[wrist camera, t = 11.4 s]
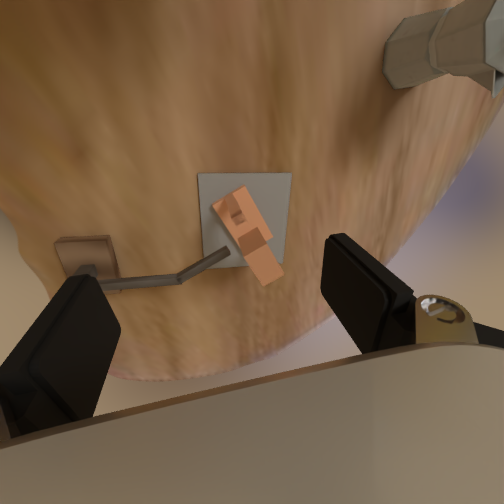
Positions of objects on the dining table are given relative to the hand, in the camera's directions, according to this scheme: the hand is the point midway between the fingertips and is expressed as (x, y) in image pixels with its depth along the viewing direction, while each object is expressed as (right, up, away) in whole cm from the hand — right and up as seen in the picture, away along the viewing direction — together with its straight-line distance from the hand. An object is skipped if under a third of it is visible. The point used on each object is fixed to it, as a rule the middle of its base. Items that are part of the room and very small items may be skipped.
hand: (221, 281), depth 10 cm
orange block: (0, +7, +31) cm, 32 cm away
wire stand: (-16, 0, +32) cm, 36 cm away
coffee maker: (+24, +31, +24) cm, 46 cm away
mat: (0, +6, +32) cm, 33 cm away
